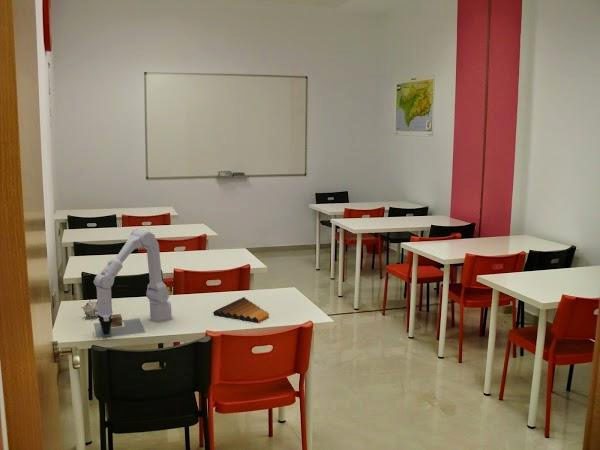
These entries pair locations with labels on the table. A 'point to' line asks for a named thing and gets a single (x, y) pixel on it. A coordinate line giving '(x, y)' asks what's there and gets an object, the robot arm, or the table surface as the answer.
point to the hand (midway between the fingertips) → (105, 332)
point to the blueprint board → (122, 328)
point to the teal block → (103, 333)
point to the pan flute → (242, 311)
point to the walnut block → (116, 320)
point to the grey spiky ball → (90, 309)
